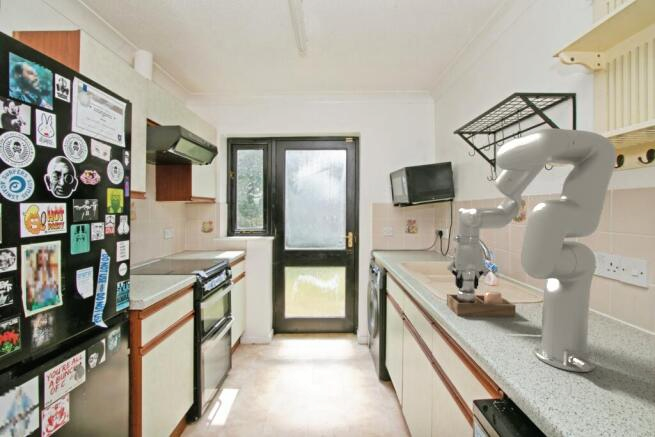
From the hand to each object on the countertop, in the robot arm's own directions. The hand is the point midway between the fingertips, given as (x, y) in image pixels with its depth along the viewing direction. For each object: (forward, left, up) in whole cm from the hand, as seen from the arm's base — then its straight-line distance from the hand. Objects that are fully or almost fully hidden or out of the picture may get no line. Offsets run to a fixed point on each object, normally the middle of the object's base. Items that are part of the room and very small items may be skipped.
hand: (466, 287), depth 115 cm
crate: (0, -5, -10) cm, 11 cm away
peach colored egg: (0, -10, -9) cm, 13 cm away
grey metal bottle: (0, 0, -7) cm, 7 cm away
